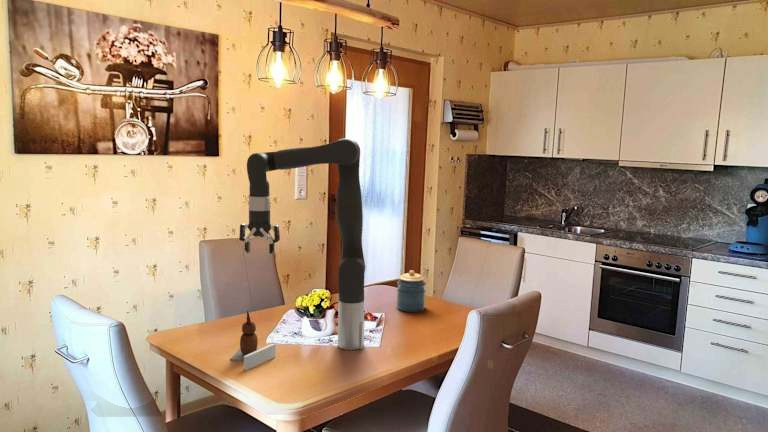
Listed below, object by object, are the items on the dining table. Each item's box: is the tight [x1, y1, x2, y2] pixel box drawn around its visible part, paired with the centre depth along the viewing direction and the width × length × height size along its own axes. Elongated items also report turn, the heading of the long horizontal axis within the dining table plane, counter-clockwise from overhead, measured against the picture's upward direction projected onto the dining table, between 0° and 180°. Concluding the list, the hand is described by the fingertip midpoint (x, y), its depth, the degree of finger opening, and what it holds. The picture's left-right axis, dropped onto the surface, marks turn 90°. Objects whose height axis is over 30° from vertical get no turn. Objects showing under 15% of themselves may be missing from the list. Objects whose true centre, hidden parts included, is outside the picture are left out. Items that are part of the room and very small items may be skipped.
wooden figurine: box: [239, 310, 259, 356], centre depth 193 cm, size 7×6×15 cm
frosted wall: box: [243, 343, 276, 371], centre depth 188 cm, size 14×1×4 cm, turn 150°
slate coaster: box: [229, 348, 260, 362], centre depth 194 cm, size 10×10×1 cm
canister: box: [396, 269, 427, 313], centre depth 253 cm, size 13×13×18 cm
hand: (259, 252), depth 204 cm, fingers open, 8 cm apart
